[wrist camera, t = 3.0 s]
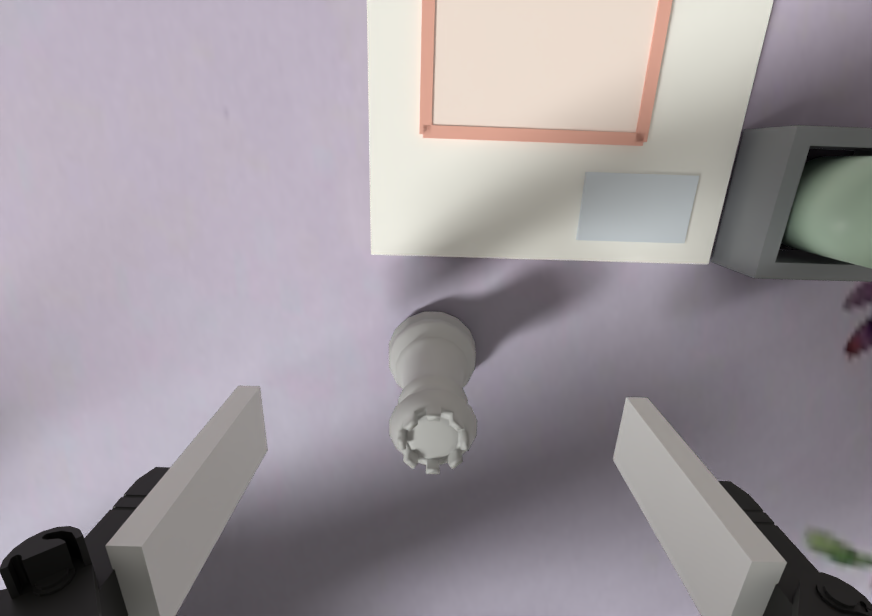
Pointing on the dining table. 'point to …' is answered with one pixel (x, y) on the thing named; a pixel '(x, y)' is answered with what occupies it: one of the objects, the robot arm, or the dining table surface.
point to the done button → (833, 210)
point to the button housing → (779, 203)
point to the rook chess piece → (432, 390)
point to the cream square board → (556, 125)
